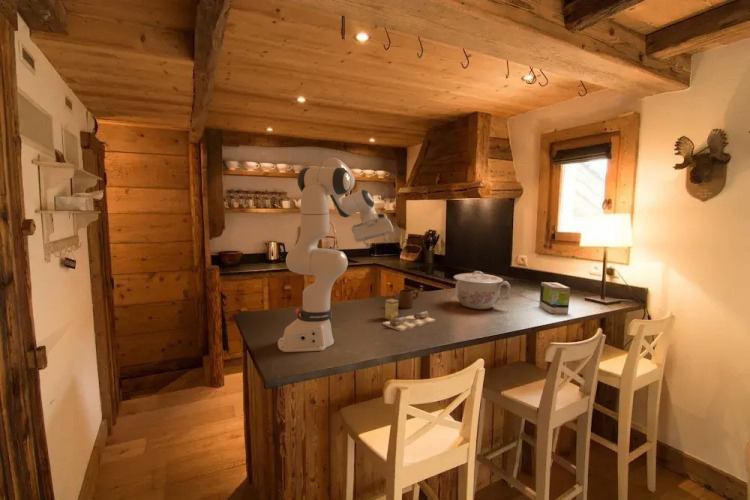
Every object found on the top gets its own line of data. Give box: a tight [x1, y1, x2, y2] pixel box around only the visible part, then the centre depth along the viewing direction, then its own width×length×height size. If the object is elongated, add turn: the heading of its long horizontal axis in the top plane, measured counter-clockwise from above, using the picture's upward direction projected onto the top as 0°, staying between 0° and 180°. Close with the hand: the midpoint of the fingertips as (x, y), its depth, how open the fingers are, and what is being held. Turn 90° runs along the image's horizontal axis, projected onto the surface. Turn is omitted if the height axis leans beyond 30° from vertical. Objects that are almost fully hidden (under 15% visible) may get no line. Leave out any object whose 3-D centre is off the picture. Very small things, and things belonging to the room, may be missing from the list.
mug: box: [398, 288, 420, 310], centre depth 209 cm, size 12×8×9 cm, turn 114°
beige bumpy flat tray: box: [382, 310, 436, 332], centre depth 181 cm, size 24×12×4 cm, turn 130°
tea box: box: [538, 281, 571, 315], centre depth 208 cm, size 15×10×15 cm
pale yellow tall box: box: [384, 298, 399, 321], centre depth 187 cm, size 4×4×10 cm
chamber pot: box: [453, 270, 512, 311], centre depth 212 cm, size 28×28×21 cm
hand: (377, 244), depth 187 cm, fingers open, 8 cm apart
